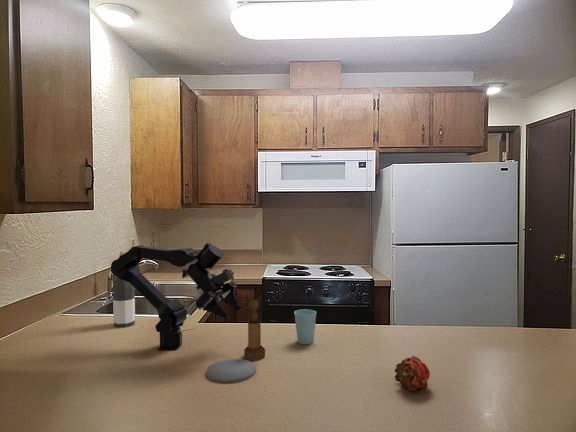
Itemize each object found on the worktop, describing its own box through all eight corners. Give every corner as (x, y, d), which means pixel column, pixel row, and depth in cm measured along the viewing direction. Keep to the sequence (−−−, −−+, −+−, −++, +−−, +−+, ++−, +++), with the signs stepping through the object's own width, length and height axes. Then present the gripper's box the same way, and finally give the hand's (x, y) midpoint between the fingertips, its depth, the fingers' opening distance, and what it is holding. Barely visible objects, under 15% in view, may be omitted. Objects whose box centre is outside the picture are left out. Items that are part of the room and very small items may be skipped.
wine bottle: (109, 326, 159) (107, 252, 158) (123, 321, 167) (121, 250, 166) (126, 328, 157) (124, 252, 156) (139, 322, 164) (137, 250, 164)
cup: (320, 343, 137) (320, 313, 136) (300, 346, 134) (300, 316, 133) (310, 337, 144) (310, 308, 143) (291, 340, 141) (290, 311, 140)
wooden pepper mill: (261, 361, 122) (260, 302, 121) (241, 359, 123) (240, 302, 123) (267, 353, 128) (266, 297, 128) (247, 352, 130) (247, 297, 129)
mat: (200, 382, 107) (200, 378, 107) (213, 362, 121) (213, 358, 121) (252, 383, 107) (252, 379, 106) (258, 362, 120) (258, 359, 120)
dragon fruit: (408, 405, 97) (409, 390, 108) (438, 387, 95) (436, 374, 107) (387, 373, 99) (390, 362, 111) (416, 355, 98) (416, 346, 109)
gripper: (203, 265, 120) (237, 304, 117) (231, 257, 138) (261, 291, 134) (181, 290, 123) (214, 328, 119) (211, 279, 140) (240, 312, 137)
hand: (234, 313), depth 127 cm, fingers open, 9 cm apart
